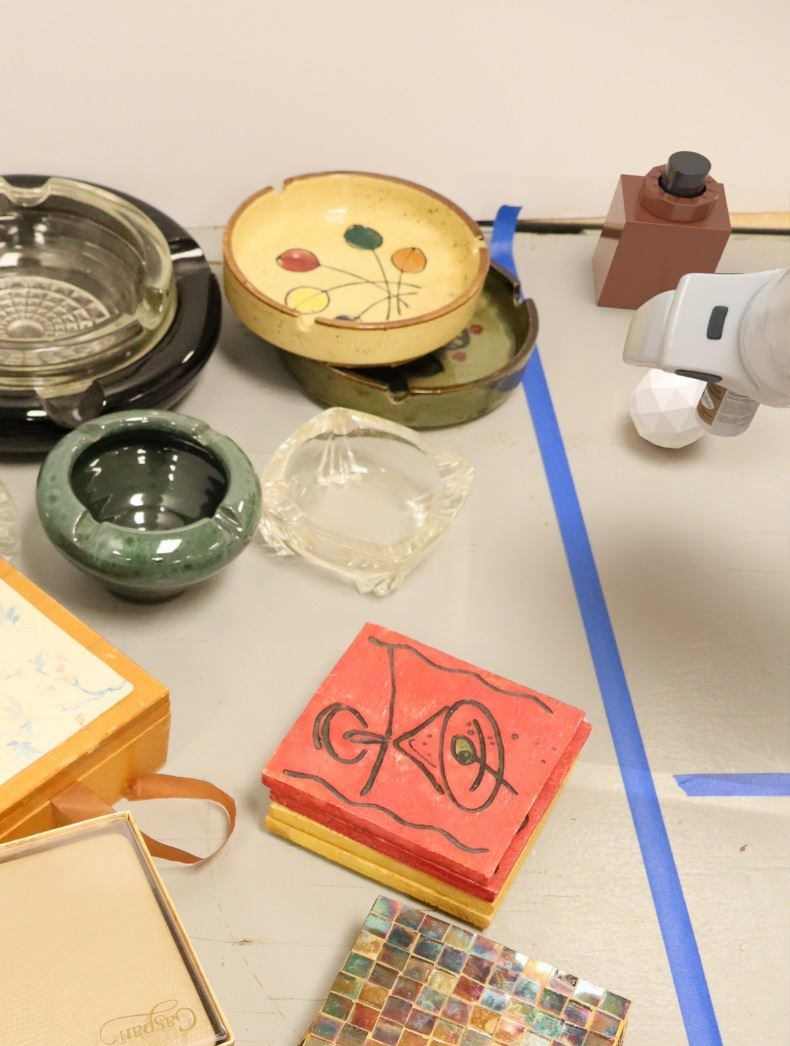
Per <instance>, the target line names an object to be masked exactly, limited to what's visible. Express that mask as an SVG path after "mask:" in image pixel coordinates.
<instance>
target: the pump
mask: <svg viewBox="0 0 790 1046" xmlns="http://www.w3.org/2000/svg"><path fill="white" fill-rule="evenodd" d="M666 164H667V165H666V168H665V170H664V173H663V176H662V179H661V181H660V188H661V189H663V190H664V191H665V192H666V193H668V194H670V195H673V196H675V197H678V198H689V199H691V198H695V197H699V196H700V195H701V193H702V191H703V188H704V185H705V183H706V180H707V178H708V175H710V172H711V170H712V162H711V161H710V160H709V158H707V157H706V156H705V155H703V154H701V153H699V152H696V151H691V150H680V151H675V152H673V153H672V154H670V155H669V156H668V159H667V163H666Z"/></svg>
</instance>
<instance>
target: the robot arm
mask: <svg viewBox="0 0 790 1046" xmlns="http://www.w3.org/2000/svg"><path fill="white" fill-rule="evenodd" d="M622 362H623V363H624V364H627V365H628V366H632V367H640V368H646V369H647V368H648V369H653V368H654V369H660V370H662V371H664V372H668V373H673V374H676V375H679V376H684V377H688V378H693V379H698V380H701V381H705V382H708V383H714V384H717V385H720V386H722V387H724V388H727V389H729V390H731V391H733V392H736V393H738V394H741V395H745V396H748V397H750V398H751V399H753V400H754V401H756V402H758V403H760V405H763V406H766V407H769V408H770V407H771V408H775V409H790V267H782V268H776V269H774V268H773V269H768V270H764V271H758V272H757V271H755V272H748V273H744V272H727V273H726V272H715V273H690V274H686V275H684V276H682V277H681V279H680V281H679V283H678V286H677V288H676V290H671V291H666V292H663V293H660V294H658V295H656V296H655V297H653V298H652V299H650V300H649V301H647V302H646V303H644V304H643V305H642V306H641V307H640V308H639V309H637V310H635V311H634V313H633V314H632V316H631V318H630V322H629V325H628V328H627V331H626V336H625V341H624V346H623V351H622Z"/></svg>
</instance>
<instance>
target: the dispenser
mask: <svg viewBox="0 0 790 1046" xmlns="http://www.w3.org/2000/svg"><path fill="white" fill-rule="evenodd" d="M666 165H667V163H664V164H661V165H660V164H659V165H655V166H653V167H652V168H651V169H650V170H649V171H648V172H647V173H646V174H645V175H636V174H625V173H621V174H620V175H619V178H618V181H617V184H616V187H615V191H614V193H613V197H612V199H611V202H610V205H609V208H608V211H607V214H606V218H605V220H604V223H603V227H602V229H601V232H600V235H599V238H598V241H597V245H596V247H595V251H594V253H593V256H592V266H593V267H592V268H593V269H592V270H593V279H594V291H595V300H596V303H595V304H596V307H600V308H601V307H602V308H611V309H623V310H632V311H636V310H637V309H639V308H640V307H641V306H642V305H643V304H644V303H646V302H647V301H649V300H650V299H652V298H653V297H655V296H656V295H658V294H660V293H663V292H666V291H671V290H676V288H677V286H678V283H679V281H680V279H681V277H682V276H684V275H686V274H690V273H716V270H717V268H718V265H719V263H720V260H721V258H722V257H723V254H724V252H725V249H726V246H727V244H728V241H729V239H730V237H731V234H732V231H733V229H732V225H731V218H730V214H729V213H730V212H729V207H728V202H727V196H726V190H725V185H724V183H722V182H718V181H717V180H716V179H715V178H714V177H712V175H710V174H709V175H708V178H707V180H706V183H705V185H704V188H703V191H702V193H701V195H700V196H699V197H695V198H691V199H689V198H678V197H675V196H673V195H670V194H668V193H666V192H665V191H664V190H663V189H661V188H660V181H661V179H662V176H663V173H664V170H665V168H666Z"/></svg>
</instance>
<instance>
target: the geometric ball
mask: <svg viewBox="0 0 790 1046" xmlns="http://www.w3.org/2000/svg"><path fill="white" fill-rule="evenodd" d="M706 384H707V382H705V381H701V380H698V379H693V378H688V377H684V376H679V375H676V374H673V373H668V372H664V371H662V370H660V369H654V368H650V369H649V370H648V372H646V374H645V375H644V376H643V377H642V378H641V379H640V380H639V382H637V383H636V385H635V387H634V391H633V395H632V399H631V402H630V406H629V410H628V413H629V415H630V418H631V420H632V422H633V424H634V426H635V429H636V431H637V433H638V436H640V437H641V438H643V439H644V440H646V441H647V442H649V443H651V444H653V445H654V446H658V447H661V448H668V449H669V448H670V449H680V448H683V447H685V446H688V445H690V444H693V443H694V442H696V441H697V440H699V439H700V438H701V437H702V436H703V435H704V434H705V433H707V431H705V430H704V429H703V428H702V427H701V426H700V425H699V424H698V423H697V421H696V419H695V409H696V407H697V404H698V402H699V400H700V398H701V395H702V393H703V391H704V389H705V386H706Z"/></svg>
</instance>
